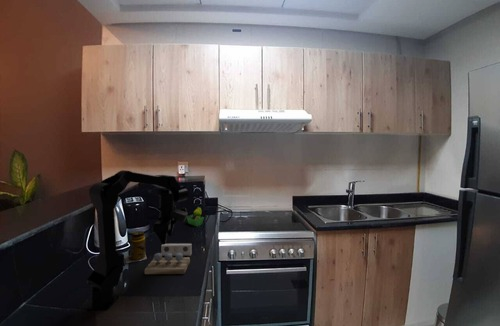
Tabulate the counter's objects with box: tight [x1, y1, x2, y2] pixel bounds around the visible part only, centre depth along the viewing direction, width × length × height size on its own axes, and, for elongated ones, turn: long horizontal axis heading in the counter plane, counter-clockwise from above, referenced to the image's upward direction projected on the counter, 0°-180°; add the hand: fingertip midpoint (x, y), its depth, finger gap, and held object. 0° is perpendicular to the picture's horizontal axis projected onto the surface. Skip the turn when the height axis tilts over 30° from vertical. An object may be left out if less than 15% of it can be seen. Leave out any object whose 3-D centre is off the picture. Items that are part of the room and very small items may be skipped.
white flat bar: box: [160, 243, 193, 257], centre depth 106 cm, size 2×14×5 cm, turn 92°
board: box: [144, 256, 191, 275], centre depth 94 cm, size 10×16×2 cm, turn 93°
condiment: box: [124, 230, 148, 264], centre depth 102 cm, size 7×8×12 cm
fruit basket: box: [186, 206, 205, 227], centre depth 152 cm, size 11×9×11 cm
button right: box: [175, 253, 184, 264], centre depth 94 cm, size 3×3×4 cm
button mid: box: [164, 253, 173, 264], centre depth 94 cm, size 3×3×4 cm
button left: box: [153, 252, 163, 264], centre depth 94 cm, size 3×3×4 cm
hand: (167, 239), depth 94 cm, fingers open, 9 cm apart
